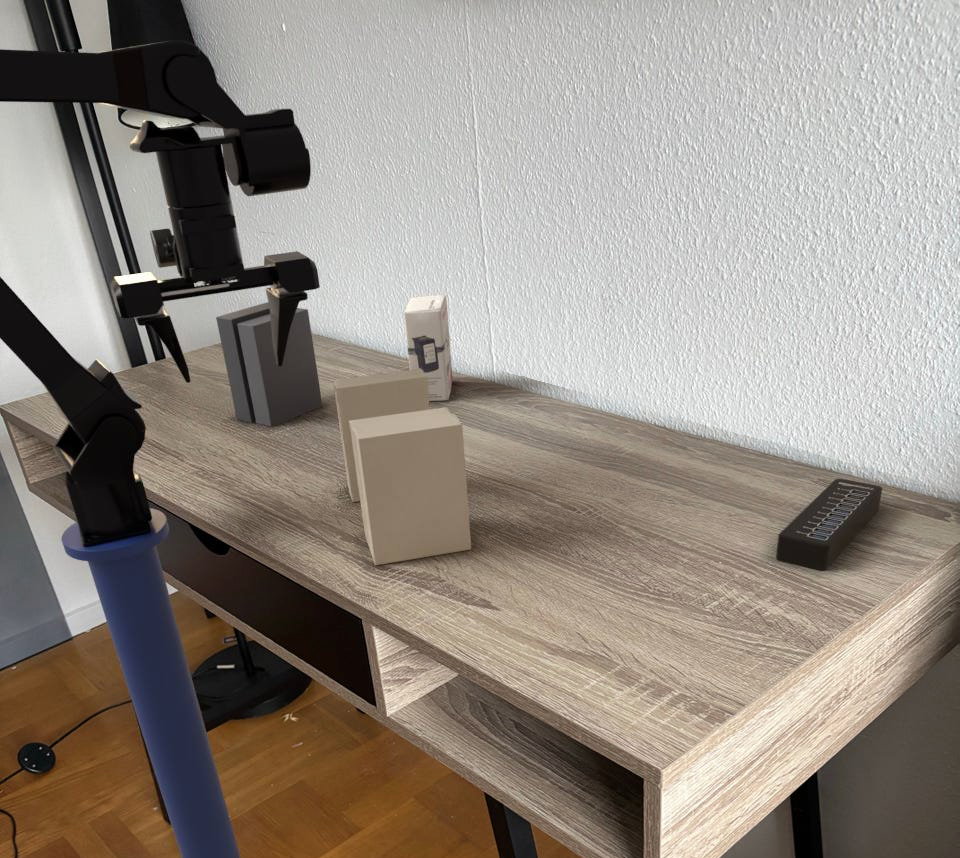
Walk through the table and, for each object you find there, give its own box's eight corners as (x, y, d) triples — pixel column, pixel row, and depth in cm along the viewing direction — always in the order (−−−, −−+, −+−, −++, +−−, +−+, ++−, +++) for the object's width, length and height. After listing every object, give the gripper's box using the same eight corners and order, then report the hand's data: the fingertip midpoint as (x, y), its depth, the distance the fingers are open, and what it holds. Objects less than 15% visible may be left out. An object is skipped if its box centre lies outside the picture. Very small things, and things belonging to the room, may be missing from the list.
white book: (352, 502, 98) (336, 388, 92) (349, 491, 100) (332, 379, 94) (437, 489, 99) (426, 376, 93) (431, 478, 102) (421, 368, 96)
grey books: (269, 427, 119) (250, 322, 113) (236, 419, 123) (215, 317, 116) (324, 405, 126) (309, 304, 119) (291, 398, 129) (274, 299, 122)
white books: (375, 565, 86) (358, 438, 79) (365, 536, 91) (348, 415, 84) (471, 549, 87) (462, 424, 81) (456, 521, 92) (446, 401, 86)
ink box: (418, 383, 132) (409, 295, 125) (453, 381, 131) (446, 293, 125) (412, 402, 124) (402, 310, 118) (449, 401, 124) (442, 308, 118)
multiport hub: (773, 559, 82) (776, 535, 81) (833, 499, 91) (836, 477, 90) (824, 571, 80) (828, 546, 78) (879, 508, 89) (884, 485, 88)
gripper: (279, 184, 95) (304, 340, 104) (86, 206, 90) (129, 370, 98) (307, 194, 87) (332, 364, 95) (96, 220, 81) (142, 399, 89)
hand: (234, 373), depth 94 cm, fingers open, 9 cm apart
